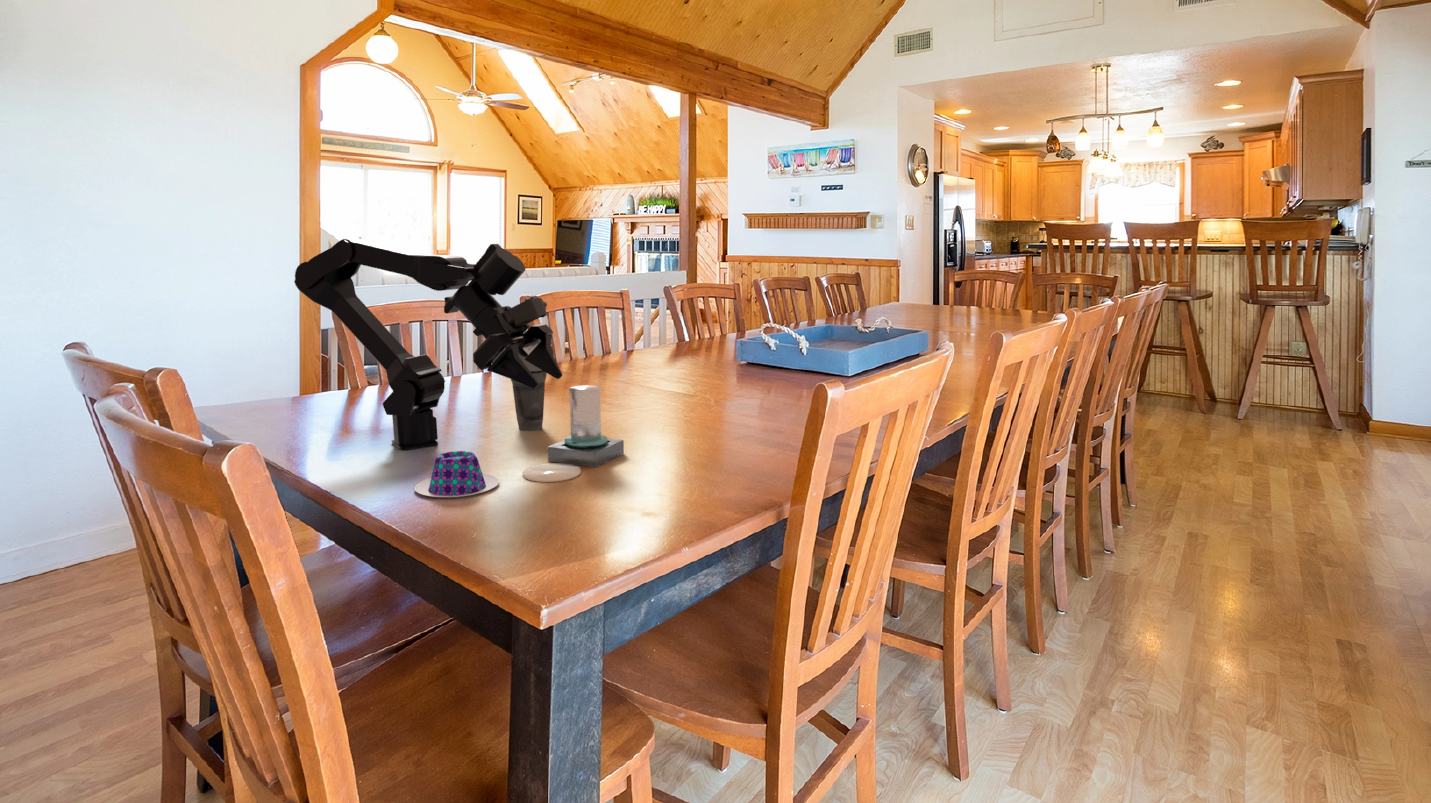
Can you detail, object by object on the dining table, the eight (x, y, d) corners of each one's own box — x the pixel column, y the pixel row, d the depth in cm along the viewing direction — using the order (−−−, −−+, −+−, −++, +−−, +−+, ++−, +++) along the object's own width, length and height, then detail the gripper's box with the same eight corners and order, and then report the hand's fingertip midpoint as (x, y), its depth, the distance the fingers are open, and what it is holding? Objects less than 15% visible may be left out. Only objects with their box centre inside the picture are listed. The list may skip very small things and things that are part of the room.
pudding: (509, 478, 123) (508, 445, 122) (483, 503, 111) (481, 467, 110) (434, 476, 123) (432, 444, 122) (400, 501, 112) (397, 465, 110)
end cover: (576, 465, 129) (574, 393, 126) (557, 456, 134) (555, 387, 132) (615, 459, 133) (614, 389, 130) (595, 449, 138) (594, 382, 136)
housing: (595, 467, 128) (595, 452, 127) (548, 461, 131) (547, 446, 131) (623, 453, 136) (623, 439, 135) (578, 448, 139) (577, 434, 139)
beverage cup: (544, 433, 150) (540, 328, 146) (506, 432, 150) (501, 328, 146) (553, 424, 157) (549, 324, 153) (516, 423, 158) (512, 324, 154)
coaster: (536, 485, 118) (536, 482, 118) (513, 471, 125) (513, 469, 125) (590, 475, 123) (590, 473, 123) (565, 462, 130) (565, 460, 130)
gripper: (486, 283, 121) (555, 357, 121) (540, 278, 139) (600, 342, 139) (444, 332, 125) (510, 404, 124) (502, 321, 143) (560, 384, 142)
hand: (548, 381), depth 132 cm, fingers open, 9 cm apart
